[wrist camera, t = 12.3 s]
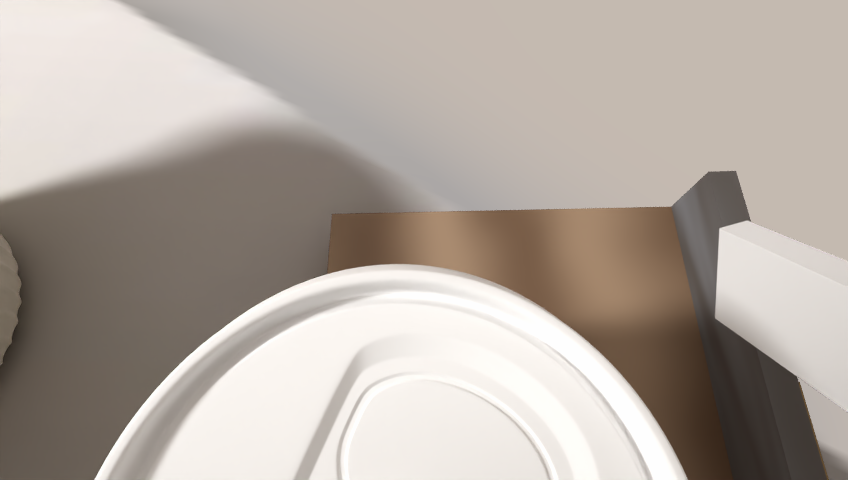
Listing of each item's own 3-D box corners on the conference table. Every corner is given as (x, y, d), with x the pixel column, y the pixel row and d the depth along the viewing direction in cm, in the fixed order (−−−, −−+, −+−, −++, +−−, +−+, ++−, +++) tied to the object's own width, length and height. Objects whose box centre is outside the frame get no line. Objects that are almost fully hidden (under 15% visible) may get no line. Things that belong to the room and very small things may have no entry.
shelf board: (313, 666, 16) (251, 781, 11) (343, 235, 23) (313, 181, 17) (779, 678, 16) (942, 807, 10) (676, 228, 22) (746, 170, 17)
